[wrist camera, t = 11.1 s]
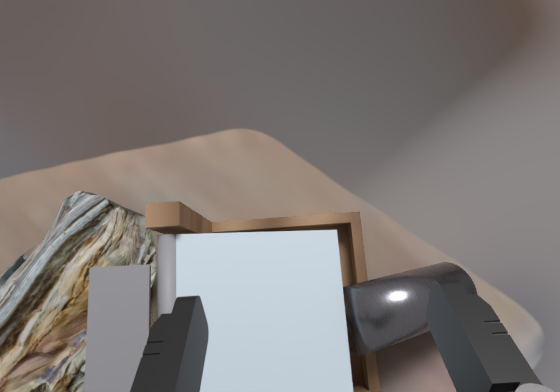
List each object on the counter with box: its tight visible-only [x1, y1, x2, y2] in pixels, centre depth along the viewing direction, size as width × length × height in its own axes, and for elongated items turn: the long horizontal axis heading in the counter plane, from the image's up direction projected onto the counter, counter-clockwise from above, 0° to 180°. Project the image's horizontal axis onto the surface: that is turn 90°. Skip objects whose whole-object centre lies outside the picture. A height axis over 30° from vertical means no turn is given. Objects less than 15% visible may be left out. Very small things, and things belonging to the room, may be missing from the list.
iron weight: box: [343, 262, 477, 356], centre depth 26 cm, size 4×4×10 cm
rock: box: [0, 191, 157, 392], centre depth 28 cm, size 23×7×15 cm
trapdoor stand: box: [145, 201, 381, 392], centre depth 25 cm, size 15×14×12 cm
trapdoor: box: [84, 230, 353, 392], centre depth 22 cm, size 15×10×2 cm
